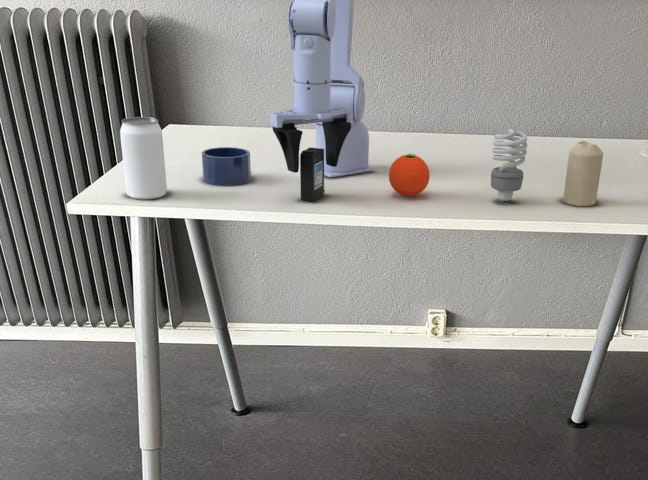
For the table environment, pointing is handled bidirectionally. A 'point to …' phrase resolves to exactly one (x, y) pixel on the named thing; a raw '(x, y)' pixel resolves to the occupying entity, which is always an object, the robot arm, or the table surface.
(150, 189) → the can
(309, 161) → the ink cartridge
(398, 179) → the clementine
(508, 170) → the light bulb
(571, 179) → the candle
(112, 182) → the table surface
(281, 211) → the table surface
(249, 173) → the cup
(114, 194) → the table surface
